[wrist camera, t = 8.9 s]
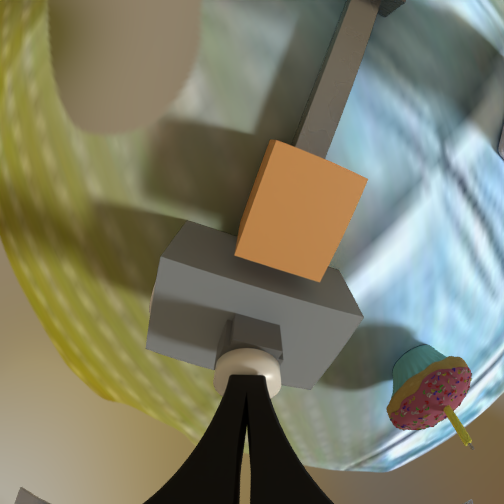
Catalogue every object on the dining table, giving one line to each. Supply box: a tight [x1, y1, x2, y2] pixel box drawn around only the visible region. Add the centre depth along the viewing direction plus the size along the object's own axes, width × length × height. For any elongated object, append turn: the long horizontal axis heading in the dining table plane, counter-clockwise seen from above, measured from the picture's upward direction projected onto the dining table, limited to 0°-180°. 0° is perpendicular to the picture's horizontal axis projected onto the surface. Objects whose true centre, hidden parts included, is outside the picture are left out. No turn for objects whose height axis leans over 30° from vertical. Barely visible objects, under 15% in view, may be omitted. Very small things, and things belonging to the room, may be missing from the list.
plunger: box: [213, 348, 281, 398], centre depth 11 cm, size 3×3×3 cm
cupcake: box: [387, 345, 474, 450], centre depth 16 cm, size 9×8×12 cm
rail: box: [291, 0, 406, 159], centre depth 12 cm, size 20×4×3 cm, turn 161°
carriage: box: [235, 139, 368, 282], centre depth 13 cm, size 5×4×4 cm
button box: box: [146, 221, 364, 390], centre depth 14 cm, size 6×10×7 cm, turn 71°
